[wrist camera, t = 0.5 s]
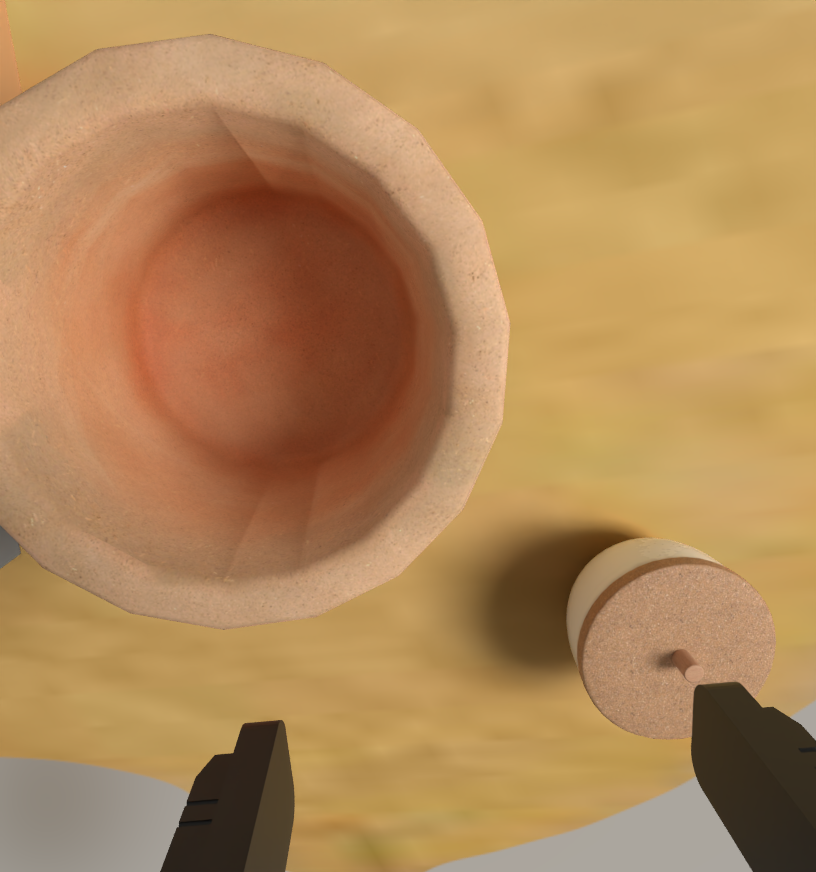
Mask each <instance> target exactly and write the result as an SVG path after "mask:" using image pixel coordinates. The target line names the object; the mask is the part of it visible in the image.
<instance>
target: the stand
mask: <svg viewBox="0 0 816 872" xmlns="http://www.w3.org/2000/svg"><path fill="white" fill-rule="evenodd" d="M19 554H21V552H20V548H19V543H18V542H17V541H16V540H15V539H14V538H13V537H12V536H11V535H10V534H9V533H8V532H7V531H6V530H5V529H4V528H3V527H2V526H1V525H0V568H2V567H3V566H5V565H6V564H7V563H9V562H10V561H11V560H13V559H14V558H15V557H17V556H18V555H19Z"/></svg>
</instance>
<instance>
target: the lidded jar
mask: <svg viewBox="0 0 816 872" xmlns="http://www.w3.org/2000/svg"><path fill="white" fill-rule="evenodd" d="M566 624H567V633H568V639H569V644H570V648H571V651H572V654H573V657H574V660H575V663H576V665H577V667H578V670H579V673H580V676H581V678H582V681H583V684H584V687H585V689H586V691H587V693H588V695H589V696H590V698H591V700H592V702H593V703H594V705H595V706H596V707H597V708H598V710H599V711H600V712H601V713H602V714H603V715H604V716H605V717H606V718H607V719H609V720H610V721H611V722H612V723H614V724H615V725H617V726H619V727H620V728H622V729H624V730H626V731H629V732H631V733H634V734H636V735H640V736H644V737H648V738H653V739H683V738H687V737H692V719H693V696H694V690H695V687H696V686H697V685H700V684H712V683H723V682H739V683H740V684H742V685H743V686H744V687H745V688H746V690H747V691H748V692H749V693H750V694H751V695H752V696H753V698H755V697H756V696H757V694H758V693H759V691H760V690H761V688H762V686H763V685H764V683H765V681H766V679H767V677H768V675H769V673H770V671H771V667H772V663H773V659H774V654H775V645H776V639H775V627H774V623H773V620H772V616H771V613H770V611H769V609H768V607H767V605H766V603H765V601H764V600H763V598H762V597H761V596H760V594H759V593H758V592H757V591H756V590H755V589H754V588H753V587H752V586H751V585H750V584H749V583H748V582H747V581H746V580H745V579H743V578H742V577H741V576H739V575H738V574H736V573H735V572H733V571H732V570H730V569H728V568H727V567H725V566H724V565H722V564H721V563H719V562H718V561H716V560H715V559H713V558H712V557H710V556H709V555H707V554H705V553H703V552H702V551H700V550H698V549H695V548H693V547H691V546H689V545H686V544H683V543H680V542H677V541H673V540H669V539H662V538H636V539H631V540H626V541H623V542H620V543H618V544H615V545H613V546H611V547H609V548H607V549H605V550H604V551H602V552H601V553H599V554H598V555H597V556H595V557H594V558H593V559H592V560H591V561H590V562H589V563H588V564H587V565H586V566H585V567H584V568H583V570H582V571H581V572H580V574H579V575H578V577H577V579H576V581H575V582H574V584H573V587H572V590H571V593H570V596H569V600H568V606H567V614H566Z"/></svg>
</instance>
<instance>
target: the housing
mask: <svg viewBox="0 0 816 872" xmlns="http://www.w3.org/2000/svg"><path fill="white" fill-rule="evenodd" d="M21 93H22V89H21V84H20V79H19V73H18V68H17V63H16V57H15V52H14V47H13V42H12V36H11V31H10V26H9V20H8V15H7V10H6V4H5V0H0V106H1V105H3V104H5V103H6V102H8V101H10V100H11V99H13V98H15V97H16V96H18V95H20V94H21Z"/></svg>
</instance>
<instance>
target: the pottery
mask: <svg viewBox="0 0 816 872" xmlns="http://www.w3.org/2000/svg"><path fill="white" fill-rule="evenodd" d="M509 333H510V320H509V317H508V313H507V309H506V306H505V302H504V298H503V295H502V291H501V287H500V284H499V280H498V276H497V273H496V269H495V265H494V262H493V258H492V254H491V251H490V247H489V243H488V240H487V236H486V232H485V229H484V225H483V221H482V220H481V218H480V217H479V215H478V214H477V212H476V211H475V210H474V208H473V207H472V205H471V204H470V202H469V201H468V200H467V198H466V197H465V195H464V194H463V192H462V191H461V190H460V188H459V187H458V185H457V184H456V182H455V181H454V180H453V178H452V177H451V175H450V174H449V172H448V171H447V170H446V168H445V167H444V165H443V164H442V162H441V161H440V160H439V158H438V157H437V155H436V154H435V152H434V151H433V150H432V148H431V147H430V145H429V144H428V142H427V141H426V140H425V138H424V137H423V135H422V134H421V132H420V131H419V130H418V129H417V128H416V127H414V126H413V125H412V124H410V123H409V122H407V121H406V120H404V119H403V118H402V117H400V116H399V115H397V114H396V113H395V112H393V111H392V110H390V109H389V108H387V107H386V106H385V105H383V104H382V103H380V102H379V101H377V100H376V99H375V98H373V97H372V96H370V95H369V94H367V93H366V92H365V91H363V90H362V89H360V88H359V87H357V86H356V85H355V84H353V83H352V82H350V81H349V80H347V79H346V78H345V77H343V76H342V75H340V74H339V73H337V72H336V71H335V70H333V69H332V68H330V67H329V66H327V65H326V64H325V63H323V62H319V61H315V60H311V59H307V58H303V57H299V56H295V55H291V54H287V53H283V52H279V51H275V50H272V49H268V48H264V47H260V46H256V45H252V44H248V43H244V42H240V41H236V40H232V39H228V38H224V37H221V36H217V35H213V34H207V35H200V36H192V37H185V38H177V39H170V40H162V41H155V42H147V43H140V44H132V45H125V46H117V47H110V48H102V49H96V50H94V51H92V52H91V53H89V54H87V55H86V56H84V57H82V58H81V59H79V60H77V61H76V62H74V63H72V64H70V65H69V66H67V67H65V68H64V69H62V70H60V71H59V72H57V73H55V74H54V75H52V76H50V77H48V78H47V79H45V80H43V81H42V82H40V83H38V84H37V85H35V86H33V87H32V88H30V89H28V90H27V91H25V92H23V93H21V94H20V95H18V96H16V97H15V98H13V99H11V100H10V101H8V102H6V103H5V104H3V105H1V106H0V525H1V526H2V527H3V528H4V529H5V530H6V531H7V532H8V533H9V534H10V535H11V536H12V537H13V538H14V539H15V540H16V541H17V542H18V543H19V544H20V545H21V546H22V547H23V548H24V549H25V550H26V551H27V552H28V553H29V554H30V555H31V556H32V557H33V558H34V559H35V560H36V561H37V562H38V563H39V564H40V565H41V566H42V567H43V568H44V569H46V570H48V571H50V572H52V573H54V574H56V575H58V576H60V577H61V578H63V579H65V580H67V581H69V582H71V583H73V584H75V585H77V586H79V587H81V588H83V589H85V590H86V591H88V592H90V593H92V594H94V595H96V596H98V597H100V598H102V599H104V600H106V601H108V602H110V603H111V604H113V605H115V606H117V607H119V608H121V609H123V610H125V611H127V612H129V613H132V614H138V615H143V616H149V617H155V618H160V619H166V620H172V621H177V622H183V623H189V624H194V625H200V626H206V627H211V628H217V629H223V630H225V629H233V628H240V627H247V626H254V625H262V624H269V623H276V622H283V621H291V620H298V619H305V618H312V617H317V616H319V615H321V614H323V613H325V612H327V611H329V610H331V609H333V608H335V607H337V606H339V605H341V604H343V603H345V602H347V601H349V600H351V599H353V598H355V597H357V596H359V595H361V594H363V593H365V592H367V591H369V590H371V589H373V588H375V587H377V586H379V585H381V584H383V583H385V582H387V581H389V580H391V579H393V578H395V577H397V576H399V575H400V574H401V573H402V572H403V571H404V570H405V569H406V568H407V567H408V566H409V565H410V563H411V562H412V561H413V560H414V559H415V558H416V557H417V556H418V555H419V554H420V553H421V552H422V551H423V550H424V549H425V548H426V547H427V546H428V545H429V544H430V543H431V542H432V541H433V540H434V539H435V538H436V537H437V536H438V535H439V534H440V533H441V532H442V531H443V530H444V529H445V528H446V526H447V525H448V524H449V523H450V522H451V521H452V520H453V519H454V518H455V517H456V516H457V515H458V514H459V513H460V512H461V511H462V510H463V509H464V506H465V504H466V502H467V500H468V498H469V495H470V493H471V491H472V489H473V487H474V484H475V482H476V480H477V478H478V476H479V473H480V471H481V469H482V467H483V465H484V462H485V460H486V458H487V456H488V454H489V451H490V449H491V447H492V445H493V442H494V440H495V438H496V436H497V434H498V431H499V429H500V427H501V425H502V422H503V409H504V397H505V384H506V371H507V359H508V346H509Z"/></svg>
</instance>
